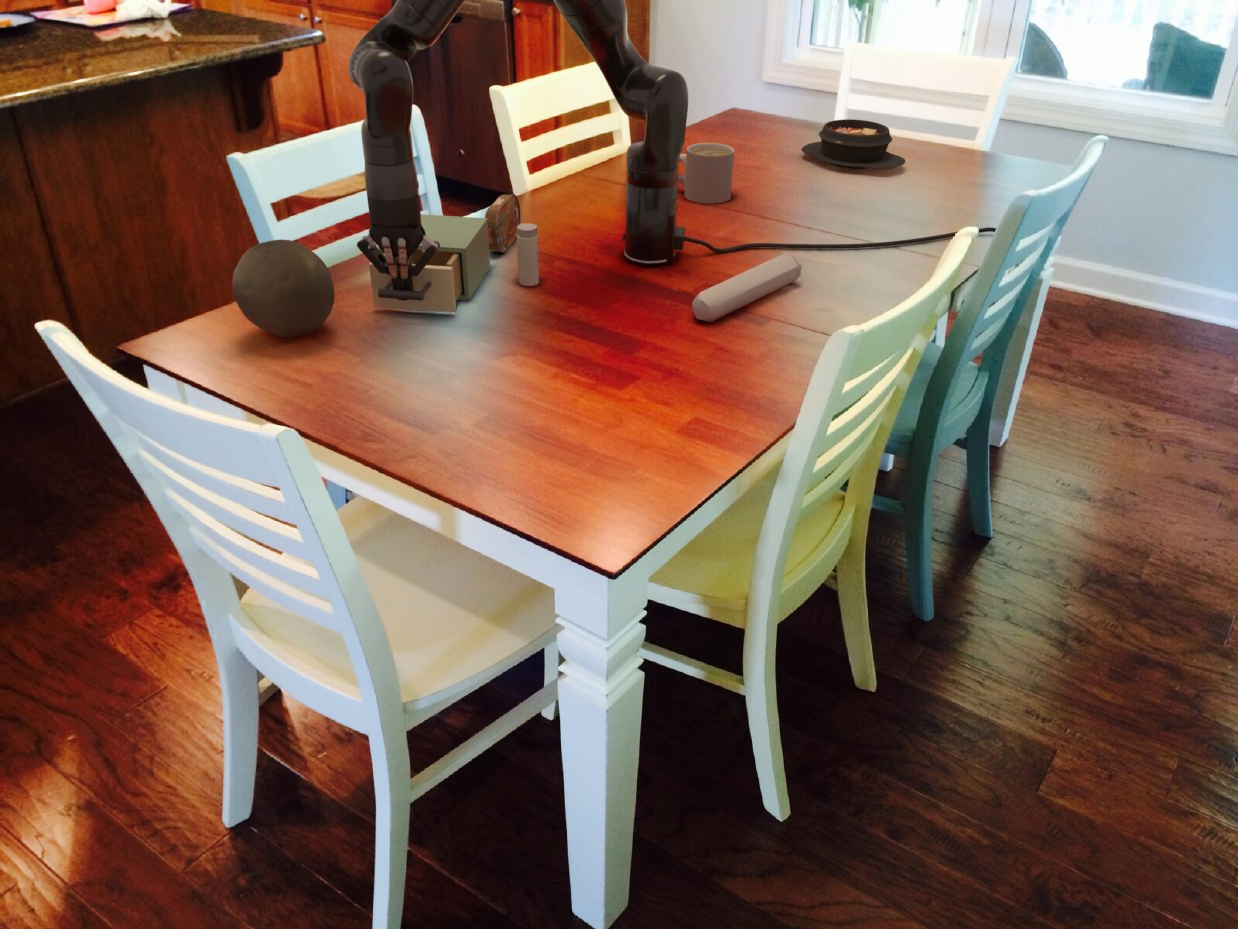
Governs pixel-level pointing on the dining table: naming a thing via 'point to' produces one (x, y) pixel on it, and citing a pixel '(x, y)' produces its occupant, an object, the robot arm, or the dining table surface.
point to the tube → (746, 287)
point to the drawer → (423, 284)
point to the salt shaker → (528, 254)
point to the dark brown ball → (283, 288)
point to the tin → (503, 222)
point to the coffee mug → (707, 172)
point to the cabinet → (462, 245)
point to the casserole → (854, 145)
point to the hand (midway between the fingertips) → (404, 298)
